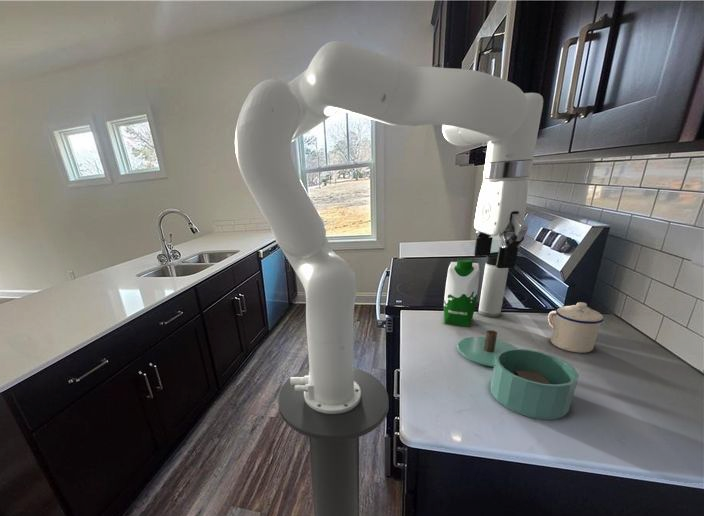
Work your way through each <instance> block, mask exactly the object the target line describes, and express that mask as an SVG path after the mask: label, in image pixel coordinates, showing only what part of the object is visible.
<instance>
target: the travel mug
mask: <svg viewBox="0 0 704 516" xmlns="http://www.w3.org/2000/svg"><path fill="white" fill-rule="evenodd" d="M497 258H498V251H494V252H490V255H489V256H486V259H485V265H484V271H483V277H482V278H483V279H482V284H481V291H480V298H479V304H478V305H479V306H478V312H477V313H479V314H480V315H482V316H484V317H489V318H497V317H499V316H501V315H502V314H501V313H502V307H503V302H504V297H505V291H506V285H507V279H508V273H509V269H510V268H497V267H496V264H497Z"/></svg>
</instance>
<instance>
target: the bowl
mask: <svg viewBox="0 0 704 516" xmlns="http://www.w3.org/2000/svg"><path fill="white" fill-rule="evenodd" d="M533 370H537V371H538V372H539V373H540V374H541V375H542V376H543V377H545V378H546V379H547V380H548V381H549V382H550V383H551V384H542V383H538V382H534V381H530V380H526V379H524V378H521V377H519V376H516V375H514V372H515V371H533ZM579 377H580V375H579V373H578V371H577V369H576V368H575V367H574V366H572V365H571V364H570V363H568V362H567V361H565V360H564V359H562V358H559V357H557V356H556V355H552V354H549V353H546V352H544V351H540V350H533V349H530V348H529V349H528V348H517V349H508V350H504V351H501V352H499V353H498V354H497V356H496V358H495V363H494V367H493V369H492V375H491V381H490V393H491V395H492V396H493V398H494V399H495V400H496V401H497V402H498V403H499V404H500V405H502V406H503V407H505V408H507V409H509V410H510V411H512V412H515V413H517V414H519V415H521V416H525V417H528V418H532V419H537V420H547V421H548V420H550V421H551V420H558V419H561V418H564V417H565V416H566V415H567V414H568V413H569V411H570V407H571V404H572V401H573V397H574V395H575V394H574V393H575V391H576V387H577V384H578V381H579Z"/></svg>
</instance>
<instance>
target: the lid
mask: <svg viewBox="0 0 704 516" xmlns="http://www.w3.org/2000/svg"><path fill="white" fill-rule="evenodd" d="M508 349H518V348H517V347H516V346H514V345H513V344H510V343H509V342H506V341H504V340H500V339H498V332H497V331H495V330H491V329H490V330H489V329H488V330H486V332H485V336H471V337H465V338H464V339H461V340H460V341H459V342H458V343H457V350H458V352H459V354H461V355H462V356H463V357H464V358H466V359H468V360H469V361H472V362H473V363H476V364H479V365H483V366H488V367H493V368H494V363H495V358H496V356H497V354H498V353H499V352H501V351H504V350H508Z"/></svg>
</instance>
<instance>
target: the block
mask: <svg viewBox="0 0 704 516" xmlns="http://www.w3.org/2000/svg"><path fill="white" fill-rule="evenodd" d="M514 375H516V376H519V377H521V378H524V379H526V380H530V381H534V382H538V383H542V384H551V383H550V382H549V381H548V380H547V379H546V378H545V377H543V376H542V375H541V374H540V373H539V372H538V371H537V370H533V371H515V372H514Z"/></svg>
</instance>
